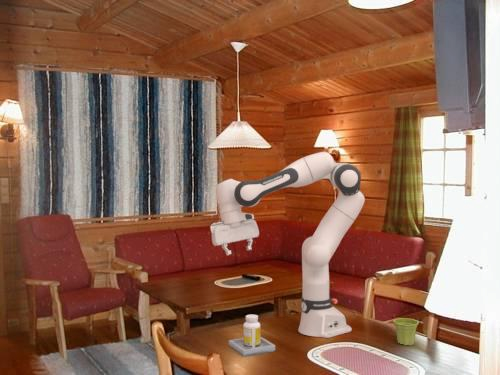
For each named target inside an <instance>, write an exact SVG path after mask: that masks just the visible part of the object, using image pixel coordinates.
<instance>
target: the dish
mask: <svg viewBox="0 0 500 375" xmlns="http://www.w3.org/2000/svg"><path fill="white" fill-rule="evenodd" d="M228 347H230V348H231V349H232V350H233V351H235V352H236V353H238V354H239V355H241V356H242V357H244V358H246V357H252V356H256V355H257V356H258V355H262V354H268V353H272V352H276V345H275V344H274V343H272V342H270V341H269V340H268V339H266V338H263V337H262V336H261V345H260V347H258V348H252V349H249V348H245V347H244V345H243V337H241V338H235V339H229V340H228Z"/></svg>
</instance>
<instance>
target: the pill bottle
mask: <svg viewBox="0 0 500 375" xmlns="http://www.w3.org/2000/svg"><path fill="white" fill-rule="evenodd" d="M258 320H259V315H257V314H251V313H250V314H247V315H245V322H243V325H242V326H243V329H242V330H243V331H242V332H243V334H242V335H243V336H242V338H243V345H244V347H245V348H249V349H252V348H258V347H260V345H261V337H262V336H261V330H262V329H261V322H259V321H258Z"/></svg>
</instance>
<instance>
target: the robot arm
mask: <svg viewBox="0 0 500 375" xmlns="http://www.w3.org/2000/svg"><path fill="white" fill-rule="evenodd" d="M323 179H326V180H327V181H328V182H329V183H330V184H331V186H333V187H334V188H336V189H337V190H338V194H337V197H336V199H335V200H334V202H333V203H332V205H331V206H330V208H329V209H328V210H327V212H326V213H324V214H325V215H324V216H323V217H322V219H321V220H320V222H319V224H318V225H317V228H316V230H315V231H314V233H313V235H312V236H311V235H310V236H309V237H307V238H305V240H304V241H303V243H302V245H301V246H302V247H301V266H302V267H301V270H302V273H301V274H302V291H301V293H302V295H301V302H300V306H301V308H300V309H301V316H300V322H299V326H298V329H297V330H298V332H299V333H300V334H301V335H306V336H310V337H319V338H320V337H321V338H326V339H328V338H333V337H337V336H339V335H343V334H347V333H350V332H352V331H353V330H352V327H351V326H350V325H349V324H347V320H346V317H345V315H344V314H343V313H342V312H341V311H339V309H337V308H336V307H335V306H334V305H336V304H338V302H339V301H338V299H337V298H332V297H330V272H329V271H330V270H329V268H330V267H329V262H330V261H331V259H332V257H333V256H334V254H335V252H336V250H337V248H339V245H340V243H341V241H342V239H343V238H344V236H346V233H347V232H348V230H349V229H350V228H351V226H352V225H353V223H354V222H355V221H356V219H357V218H358V216H359V214H360V212H361V210H362V209H363V206H364V204H365V201H366V198H365V196H364V194H363V193H362V192H361V182H362V175H361V171H360V170H359V168H358V167H356V166H355V165H353V164H350V163H347V162H336V161H335V159H334V157H333V156H332V155H331V154H330V153H329V152H327V151H320V152H316V153H313V154H309V155H306V156H303V157H301V158H299V159H297V160H295V161H293V162H291V163H290V164H289V165H287V166H286V167H284V168H283V169H281V170H280V171H278V172H276V173H274V174H271V175H269V176H266V177H263V178H261V179H258V180H244V181H238V180H235V179H233V178H227V179H224V180H221V181H220V182H219V183H217V185H215V186H216V187H215V195H216V201H217V204H218V208H219V216H220V220H221V221H217V222H216V221H215V222H213V223H212V224H211V225H210V226H209V229H210V233H211V242H212V245H213V246H214V247H216V246H217V247H218V246H221V248H222V249H223V251H224V252H225V255H226V256H231V255H232V250H229V249H228V244H230V243H231V244H232V243H235V242H241V241H245V240H246V242H248V244H247V246H245V248H246V251H248V252H249V251H252V250H253V249H252V245H253V241H254V240H253V239H254V238H259V236H260V230H259V227H258V224H257V221H256V220H255V215H254V214H253V213H248V212H243V211H242V208H243V207H246V208H252V207H255V206H256V205H258V204H259V203H260V201H261V199H262V198H263V197H265V196H266V195H269V194H271V193H274V192H276V191H278V190H281V189H284V188H290V187H291V188H300V187H305V186H308V185H311V184H314V183H316V182H318V181H320V180H323ZM333 304H334V305H333Z"/></svg>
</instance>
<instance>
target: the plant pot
mask: <svg viewBox="0 0 500 375" xmlns="http://www.w3.org/2000/svg"><path fill="white" fill-rule="evenodd" d="M393 323H394V326H395V331H396V340H397V344H399V343H400V344H404V345H403V346H413V345H414V344H415V340H416V333H417V328H418V325H419V321H418V320H416V319H414V318H413V319H412V318H406V317H402V318H401V317H398V318H395V319H393ZM400 344H399V345H400Z"/></svg>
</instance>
